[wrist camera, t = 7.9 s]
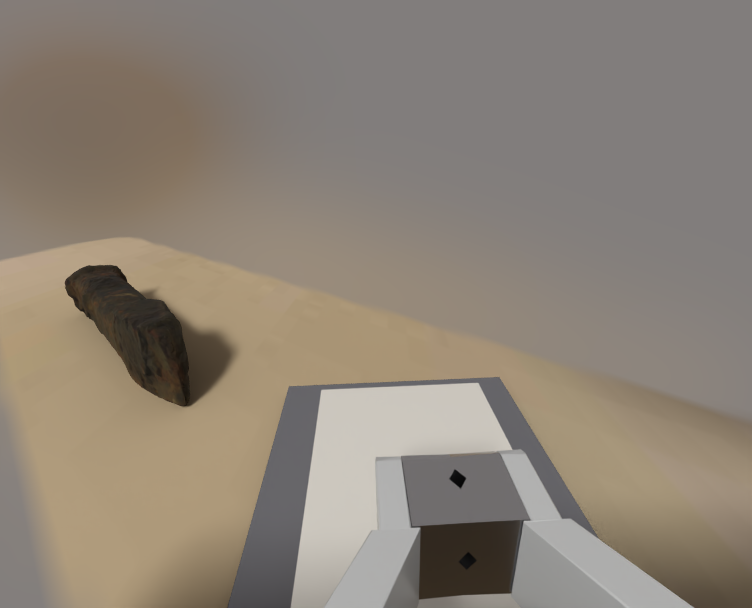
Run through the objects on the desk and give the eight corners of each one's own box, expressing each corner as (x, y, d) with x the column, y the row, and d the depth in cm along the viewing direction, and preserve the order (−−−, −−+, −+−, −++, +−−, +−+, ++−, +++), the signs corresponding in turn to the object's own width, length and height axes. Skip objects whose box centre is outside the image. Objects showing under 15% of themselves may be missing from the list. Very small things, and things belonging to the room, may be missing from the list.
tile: (600, 685, 9) (475, 410, 18) (613, 646, 8) (477, 382, 18) (289, 709, 9) (323, 417, 18) (281, 669, 8) (321, 389, 17)
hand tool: (75, 316, 31) (56, 260, 29) (132, 303, 34) (118, 250, 32) (125, 440, 18) (95, 351, 16) (213, 404, 20) (196, 322, 19)
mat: (498, 383, 21) (499, 377, 21) (634, 611, 11) (638, 602, 11) (289, 393, 20) (289, 386, 20) (224, 638, 10) (221, 629, 10)
